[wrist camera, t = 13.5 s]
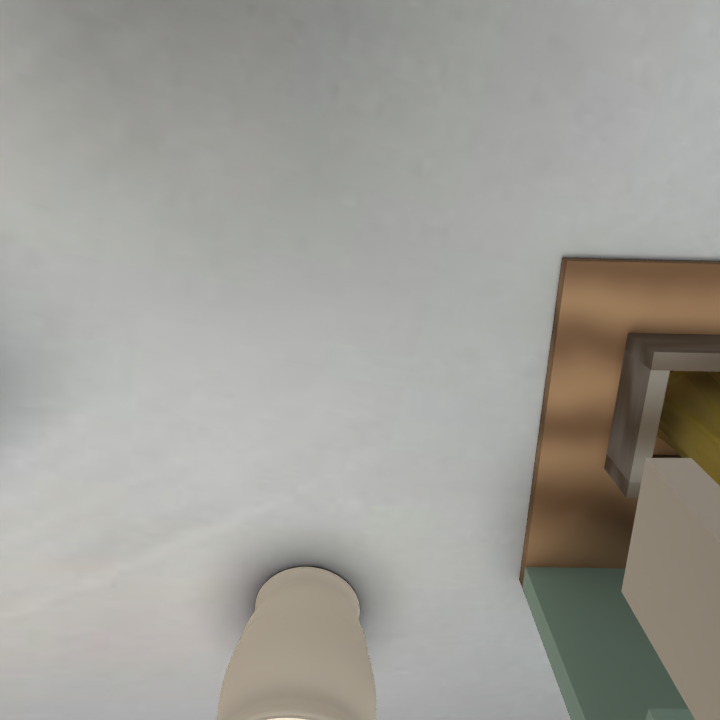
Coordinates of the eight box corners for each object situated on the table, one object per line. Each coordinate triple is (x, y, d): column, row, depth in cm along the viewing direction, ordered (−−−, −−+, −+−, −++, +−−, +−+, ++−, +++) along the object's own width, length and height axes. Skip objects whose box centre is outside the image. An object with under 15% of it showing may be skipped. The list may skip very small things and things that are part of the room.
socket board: (562, 257, 42) (588, 273, 37) (888, 265, 42) (955, 281, 38) (519, 579, 51) (536, 625, 46) (789, 583, 51) (833, 629, 46)
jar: (396, 587, 51) (412, 761, 37) (334, 673, 54) (327, 865, 40) (278, 532, 49) (248, 694, 35) (221, 625, 52) (172, 808, 38)
